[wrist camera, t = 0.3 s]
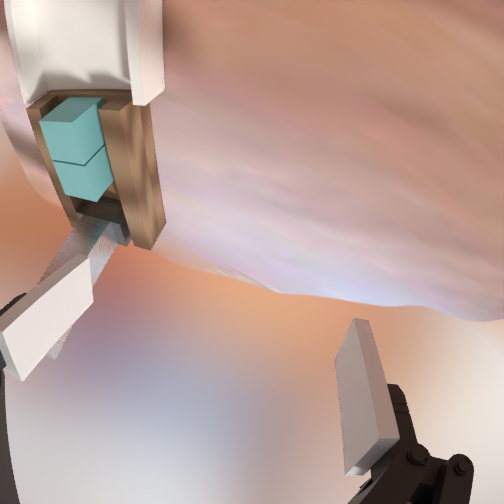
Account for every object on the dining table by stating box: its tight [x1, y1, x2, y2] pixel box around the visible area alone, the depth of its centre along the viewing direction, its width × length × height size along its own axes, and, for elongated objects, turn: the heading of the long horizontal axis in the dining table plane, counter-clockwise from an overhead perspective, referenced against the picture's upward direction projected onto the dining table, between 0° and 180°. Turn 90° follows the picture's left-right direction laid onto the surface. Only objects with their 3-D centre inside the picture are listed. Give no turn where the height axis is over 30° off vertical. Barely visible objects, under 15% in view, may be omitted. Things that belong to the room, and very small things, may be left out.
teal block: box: [53, 143, 114, 202], centre depth 24 cm, size 4×4×4 cm
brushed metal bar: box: [37, 196, 132, 360], centre depth 26 cm, size 4×6×17 cm, turn 85°
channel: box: [26, 89, 166, 250], centre depth 26 cm, size 16×11×4 cm
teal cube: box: [39, 97, 105, 165], centre depth 21 cm, size 4×4×4 cm
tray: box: [4, 0, 165, 106], centre depth 15 cm, size 13×14×3 cm
